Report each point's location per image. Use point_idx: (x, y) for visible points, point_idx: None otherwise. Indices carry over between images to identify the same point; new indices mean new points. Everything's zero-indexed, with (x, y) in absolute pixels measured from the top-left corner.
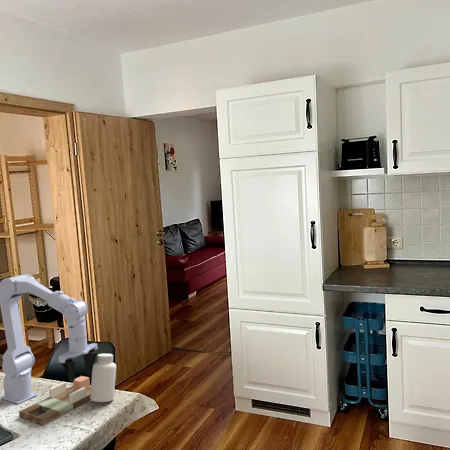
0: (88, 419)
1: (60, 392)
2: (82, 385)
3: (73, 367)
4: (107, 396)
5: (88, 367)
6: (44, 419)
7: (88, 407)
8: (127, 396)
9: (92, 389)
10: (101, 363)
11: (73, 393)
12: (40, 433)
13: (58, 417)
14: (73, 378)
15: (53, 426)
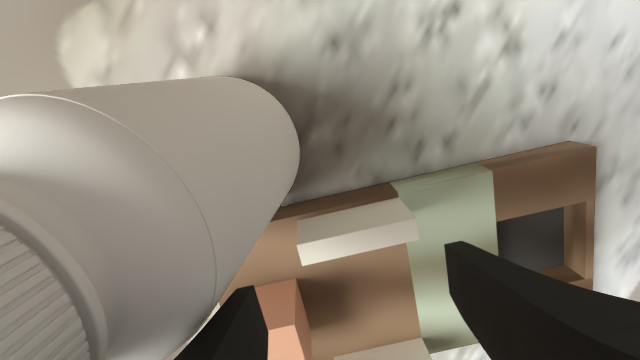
0: (402, 3)
1: (372, 353)
2: (281, 307)
3: (595, 313)
4: (220, 77)
5: (247, 346)
6: (581, 149)
7: (324, 141)
8: (89, 81)
9: (286, 170)
10: (87, 241)
11: (397, 227)
12: (623, 76)
13: (480, 161)
14: (474, 248)
15: (548, 92)
